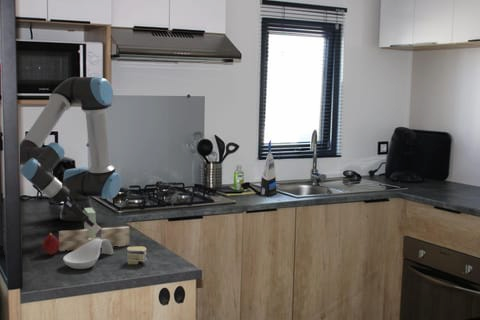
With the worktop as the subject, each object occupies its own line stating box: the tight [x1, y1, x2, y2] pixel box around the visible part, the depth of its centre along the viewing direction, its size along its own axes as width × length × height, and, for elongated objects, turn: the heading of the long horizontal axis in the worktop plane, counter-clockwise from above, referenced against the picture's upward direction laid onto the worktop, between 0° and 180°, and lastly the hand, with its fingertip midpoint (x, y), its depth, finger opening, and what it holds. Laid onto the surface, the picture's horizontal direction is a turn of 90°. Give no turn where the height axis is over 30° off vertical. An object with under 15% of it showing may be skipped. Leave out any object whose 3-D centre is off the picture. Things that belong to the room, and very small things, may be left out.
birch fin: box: [58, 225, 131, 252], centre depth 240 cm, size 26×2×7 cm, turn 112°
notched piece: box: [83, 207, 97, 238], centre depth 250 cm, size 10×3×12 cm, turn 22°
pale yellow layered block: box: [126, 245, 148, 265], centre depth 220 cm, size 10×9×6 cm
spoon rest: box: [62, 239, 114, 270], centre depth 220 cm, size 24×12×7 cm, turn 162°
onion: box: [42, 232, 60, 256], centre depth 228 cm, size 6×6×8 cm
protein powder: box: [259, 139, 278, 198], centre depth 362 cm, size 10×24×30 cm, turn 174°
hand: (96, 226), depth 251 cm, fingers open, 13 cm apart
